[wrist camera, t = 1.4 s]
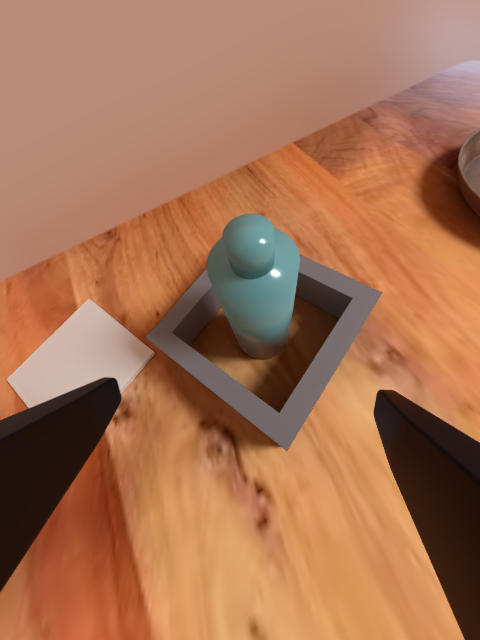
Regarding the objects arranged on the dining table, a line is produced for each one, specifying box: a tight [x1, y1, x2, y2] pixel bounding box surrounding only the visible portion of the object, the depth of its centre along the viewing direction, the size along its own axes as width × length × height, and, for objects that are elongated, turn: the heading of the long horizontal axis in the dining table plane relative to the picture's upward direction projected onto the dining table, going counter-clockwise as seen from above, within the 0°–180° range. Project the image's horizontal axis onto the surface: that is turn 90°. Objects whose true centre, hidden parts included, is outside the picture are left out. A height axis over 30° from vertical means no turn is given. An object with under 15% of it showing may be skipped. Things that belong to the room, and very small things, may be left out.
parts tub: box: [145, 254, 382, 451], centre depth 21 cm, size 14×14×4 cm
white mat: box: [7, 299, 156, 408], centre depth 24 cm, size 11×11×1 cm
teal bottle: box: [207, 214, 300, 359], centre depth 17 cm, size 5×5×13 cm
